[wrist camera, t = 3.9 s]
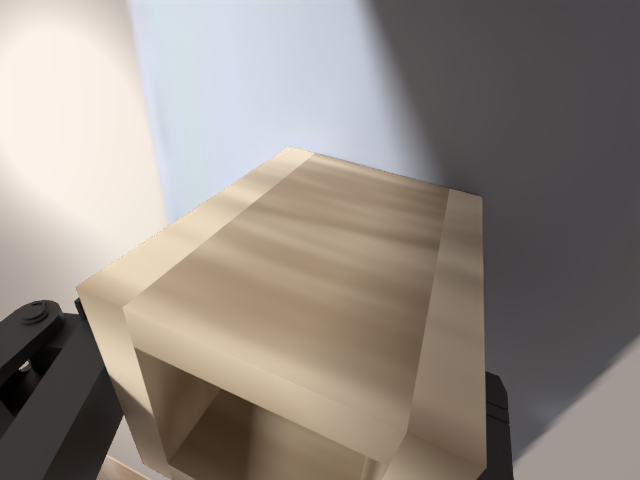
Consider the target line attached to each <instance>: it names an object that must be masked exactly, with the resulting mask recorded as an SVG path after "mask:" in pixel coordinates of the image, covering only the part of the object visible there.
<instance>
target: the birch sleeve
mask: <svg viewBox="0 0 640 480" xmlns="http://www.w3.org/2000/svg"><path fill="white" fill-rule="evenodd" d="M76 290H77V293H78V295H79V298H80V300H81V303H82V306H83V308H84V311H85V314H86V316H87V319H88V321H89V324H90V327H91V329H92V332H93V334H94V337H95V340H96V342H97V345H98V348H99V350H100V353H101V355H102V358H103V361H104V363H105V366H106V368H107V371H108V374H109V376H110V379H111V382H112V384H113V387H114V389H115V392H116V395H117V397H118V400H119V403H120V405H121V408H122V410H123V413H124V416H125V418H126V421H127V423H128V426H129V429H130V431H131V434H132V437H133V439H134V442H135V444H136V447H137V450H138V452H139V455H140V457H141V460H142V463H143V464H144V465H146V466H148V467H149V468H151V469H153V470H155V471H156V472H158V473H160V474H162V475H164V476H165V477H167V478H169V479H171V480H476V479H477V478H478V477H479V476H480V475H481V474H482V472H483V471H484V470H485V469H486V468H487V457H486V396H485V336H484V276H483V216H482V197H480V196H477V195H473V194H469V193H465V192H461V191H458V190H454V189H450V188H446V187H442V186H439V185H435V184H431V183H427V182H423V181H420V180H416V179H412V178H408V177H404V176H401V175H397V174H393V173H389V172H385V171H382V170H378V169H374V168H370V167H366V166H362V165H359V164H355V163H351V162H347V161H343V160H340V159H336V158H332V157H328V156H324V155H321V154H317V153H313V152H309V151H305V150H302V149H298V148H294V147H290V146H289V147H288V148H286V149H285V150H283V151H282V152H280V153H279V154H277V155H276V156H274V157H272V158H271V159H269V160H268V161H266V162H265V163H263V164H262V165H260V166H259V167H257V168H256V169H254V170H253V171H251V172H250V173H248V174H247V175H245V176H244V177H242V178H241V179H239V180H237V181H236V182H234V183H233V184H231V185H230V186H228V187H227V188H225V189H224V190H222V191H221V192H219V193H218V194H216V195H215V196H213V197H212V198H210V199H209V200H207V201H206V202H204V203H202V204H201V205H199V206H198V207H196V208H195V209H193V210H192V211H190V212H189V213H187V214H186V215H184V216H183V217H181V218H180V219H178V220H177V221H175V222H174V223H172V224H171V225H169V226H167V227H166V228H164V229H163V230H161V231H160V232H159V233H157V234H155V235H154V236H152V237H151V238H149V239H148V240H146V241H145V242H143V243H142V244H140V245H139V246H137V247H136V248H134V249H133V250H131V251H129V252H128V253H126V254H125V255H123V256H122V257H120V258H119V259H117V260H116V261H115V262H113V263H111V264H110V265H108V266H107V267H105V268H104V269H102V270H101V271H99V272H98V273H96V274H94V275H93V276H92V277H90V278H88V279H87V280H85V281H84V282H82V283H81V284H79V285H78V286H77V287H76Z"/></svg>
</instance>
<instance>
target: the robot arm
mask: <svg viewBox="0 0 640 480" xmlns="http://www.w3.org/2000/svg"><path fill="white" fill-rule="evenodd" d="M74 302H75V305H76V308H77V310H78V313H79V314H69V313H62V310H61V308H60V306H59V304H58V303H56V302H54V301H50V300H41V301H34V302H32V303H29V304H26V305H24V306H22V307H20V308H19V309H17V310H15V311H14V312H13V313H12V314H10V315H9V316H8V317H6V318H5V319H4V320H3V321H1V322H0V480H96V478H97V476H98V473H99V471H100V469H101V466H102V464H103V462H104V459H105V457H106V455H107V452H108V450H109V448H110V445H111V443H112V441H113V438H114V436H115V434H116V431H117V429H118V427H119V424H120V422H121V420H122V417H123V415H124V413H123V410H122V408H121V405H120V403H119V400H118V397H117V395H116V392H115V389H114V387H113V384H112V382H111V379H110V376H109V374H108V371H107V368H106V366H105V363H104V361H103V358H102V355H101V353H100V350H99V348H98V345H97V342H96V340H95V337H94V334H93V332H92V329H91V327H90V324H89V321H88V319H87V316H86V314H85V311H84V308H83V306H82V303H81V300H80V298H78V299H77V300H75V301H74ZM26 361H28V362H29V364H28V365H27V366H26V367H24V368H23V369H20V370H19V368H20V367H21V366H22V365H23V364H24V363H25V362H26ZM485 396H486V457H487V468H486V469H485V470H484V471H483V472H482V474H481V475H480V476H479V477H478V478H477V479H476V480H514V478H513V466H512V453H511V439H510V426H509V413H508V399H507V392H506V390H505V388H504V386H503V384H502V381H501V379H500V377H499V376H497V375H494V374H491V373H489V372H486V371H485Z"/></svg>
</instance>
